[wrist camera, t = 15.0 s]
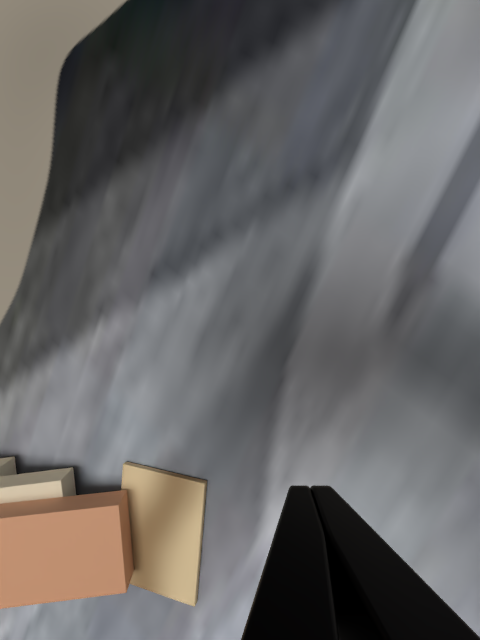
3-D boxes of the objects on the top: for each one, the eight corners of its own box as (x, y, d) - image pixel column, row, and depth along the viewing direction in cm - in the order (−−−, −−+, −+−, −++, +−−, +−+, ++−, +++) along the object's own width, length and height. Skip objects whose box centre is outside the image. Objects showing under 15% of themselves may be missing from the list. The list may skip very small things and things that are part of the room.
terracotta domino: (118, 505, 20) (-85, 527, 20) (126, 592, 20) (-77, 618, 20) (126, 489, 22) (-60, 510, 21) (133, 570, 22) (-52, 593, 21)
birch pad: (207, 480, 21) (204, 483, 21) (197, 601, 21) (194, 606, 21) (126, 461, 23) (123, 463, 22) (118, 573, 23) (114, 578, 23)
